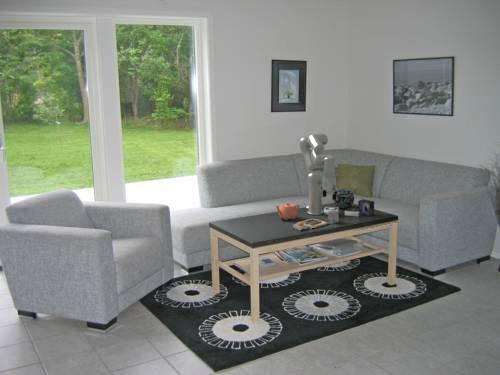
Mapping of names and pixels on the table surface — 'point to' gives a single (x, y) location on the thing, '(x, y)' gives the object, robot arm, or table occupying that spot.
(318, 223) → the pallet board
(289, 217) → the teapot
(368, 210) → the small box
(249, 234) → the table surface
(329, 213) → the metal billet
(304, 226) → the button housing
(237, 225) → the table surface
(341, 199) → the decorative stone
